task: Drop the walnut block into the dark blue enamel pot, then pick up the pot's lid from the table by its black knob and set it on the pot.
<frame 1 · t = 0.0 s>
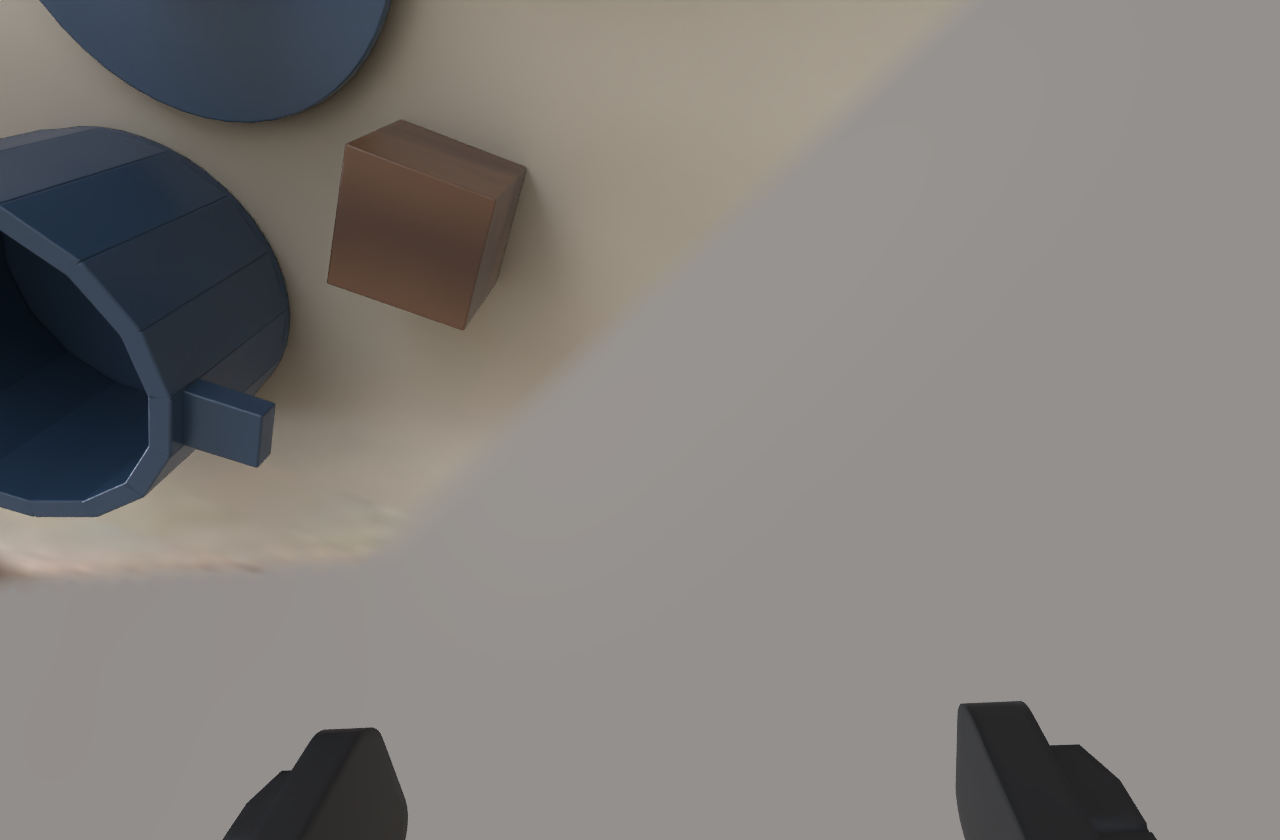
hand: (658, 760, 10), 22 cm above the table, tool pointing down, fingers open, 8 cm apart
pot: (145, 280, 31), on the table
block: (450, 205, 29), on the table
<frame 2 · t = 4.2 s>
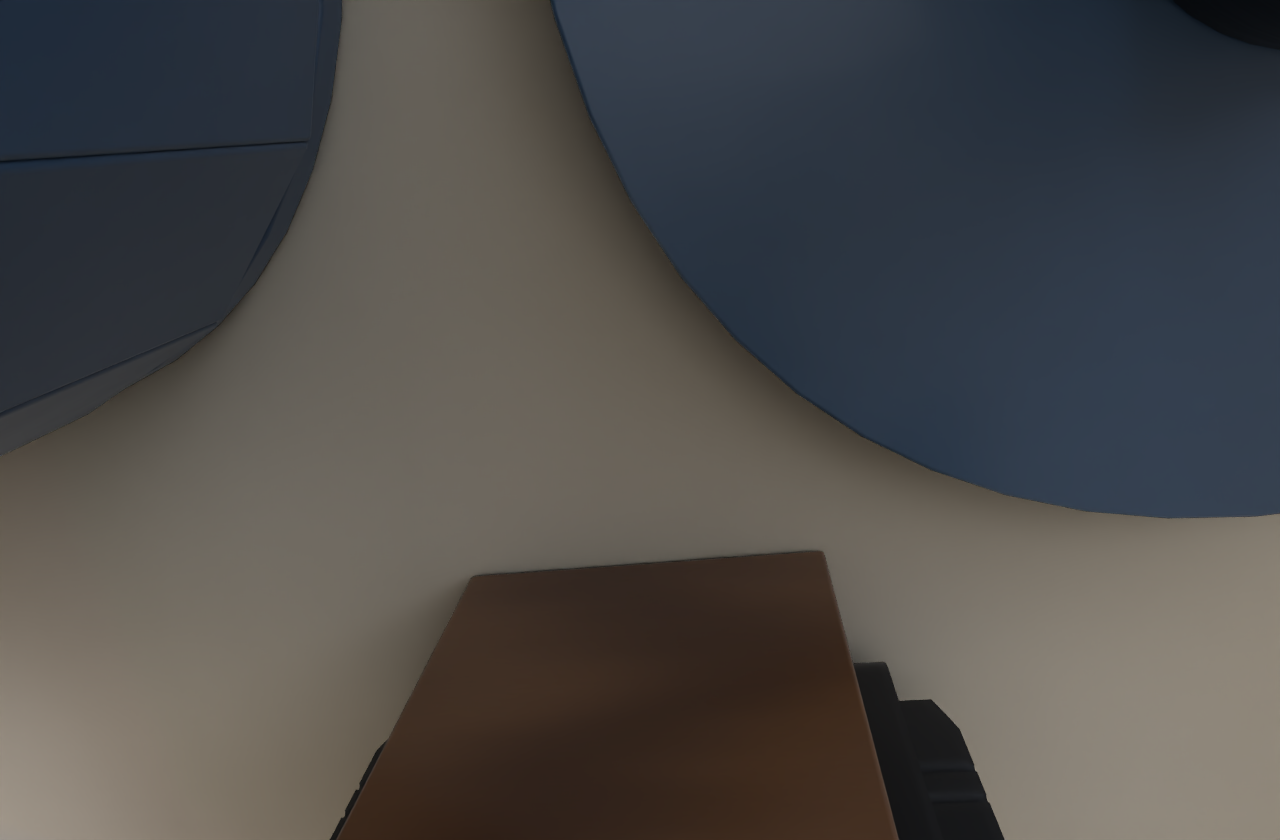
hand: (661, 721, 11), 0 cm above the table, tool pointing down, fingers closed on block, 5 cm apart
block: (664, 700, 11), on the table, touching gripper
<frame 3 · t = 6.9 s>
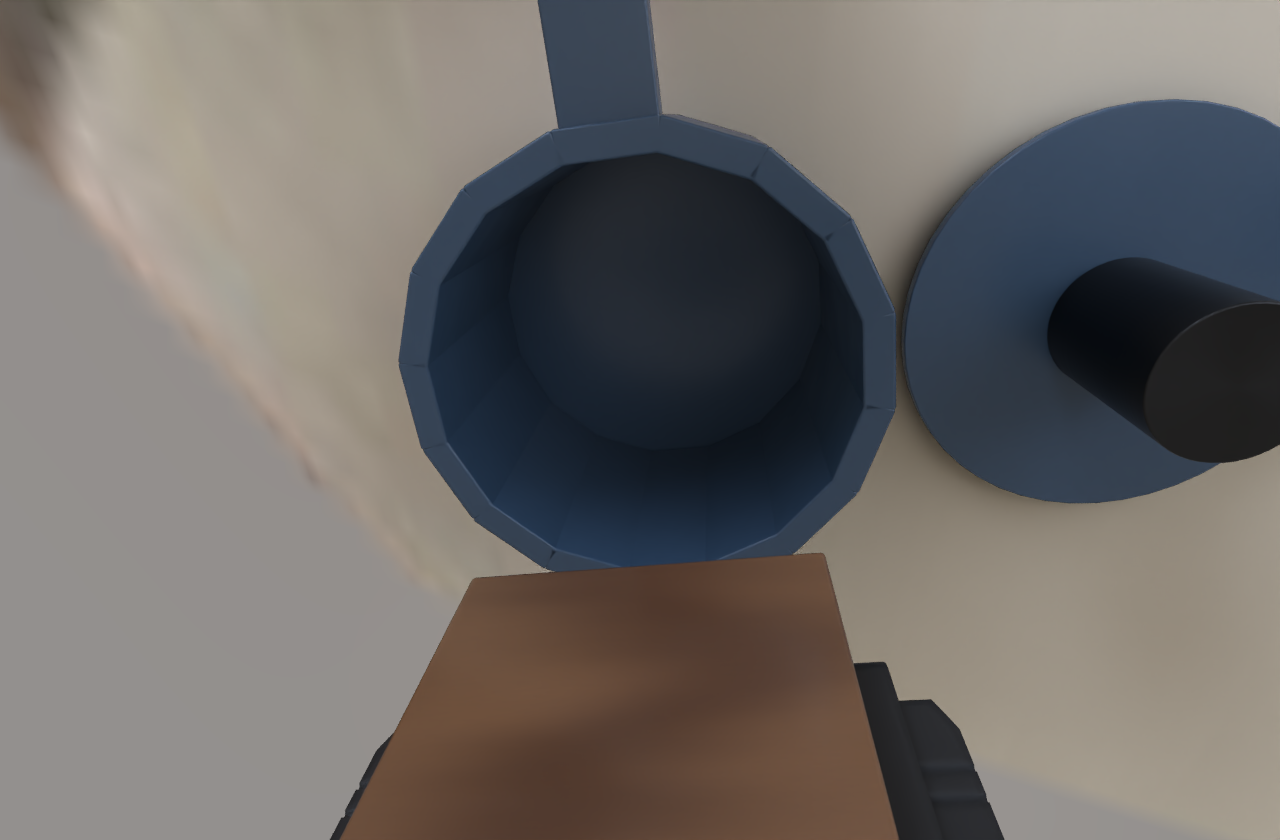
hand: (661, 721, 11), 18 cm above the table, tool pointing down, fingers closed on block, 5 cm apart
lid: (1109, 320, 24), point 1 cm above the table
pot: (663, 305, 26), on the table
block: (665, 701, 11), point 17 cm above the table, touching gripper
when the fingers open (9 cm above the table, at t = 9.6 s): block drops 8 cm, resting on pot.
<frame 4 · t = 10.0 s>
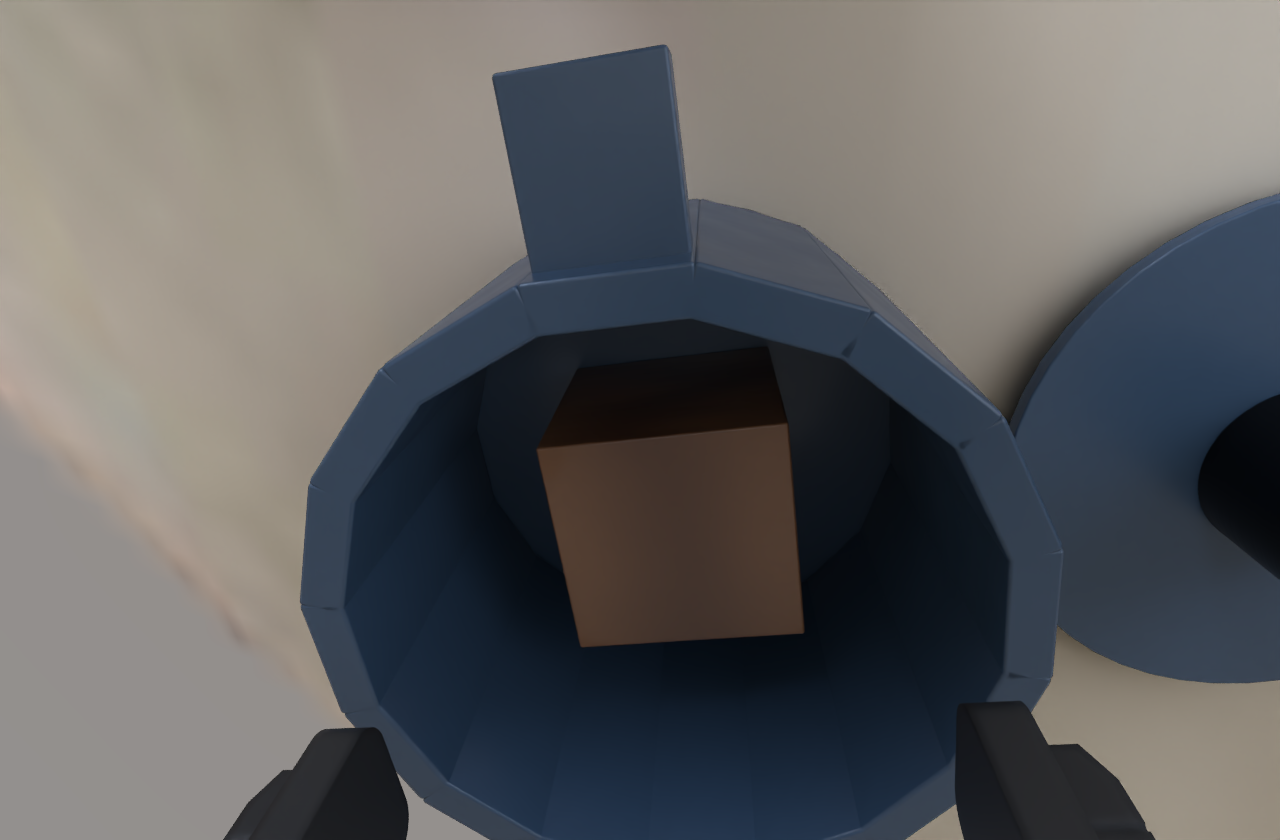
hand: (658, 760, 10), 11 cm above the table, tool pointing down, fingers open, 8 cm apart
lid: (1279, 460, 18), point 1 cm above the table
pot: (680, 436, 20), on the table
block: (682, 444, 20), resting on pot
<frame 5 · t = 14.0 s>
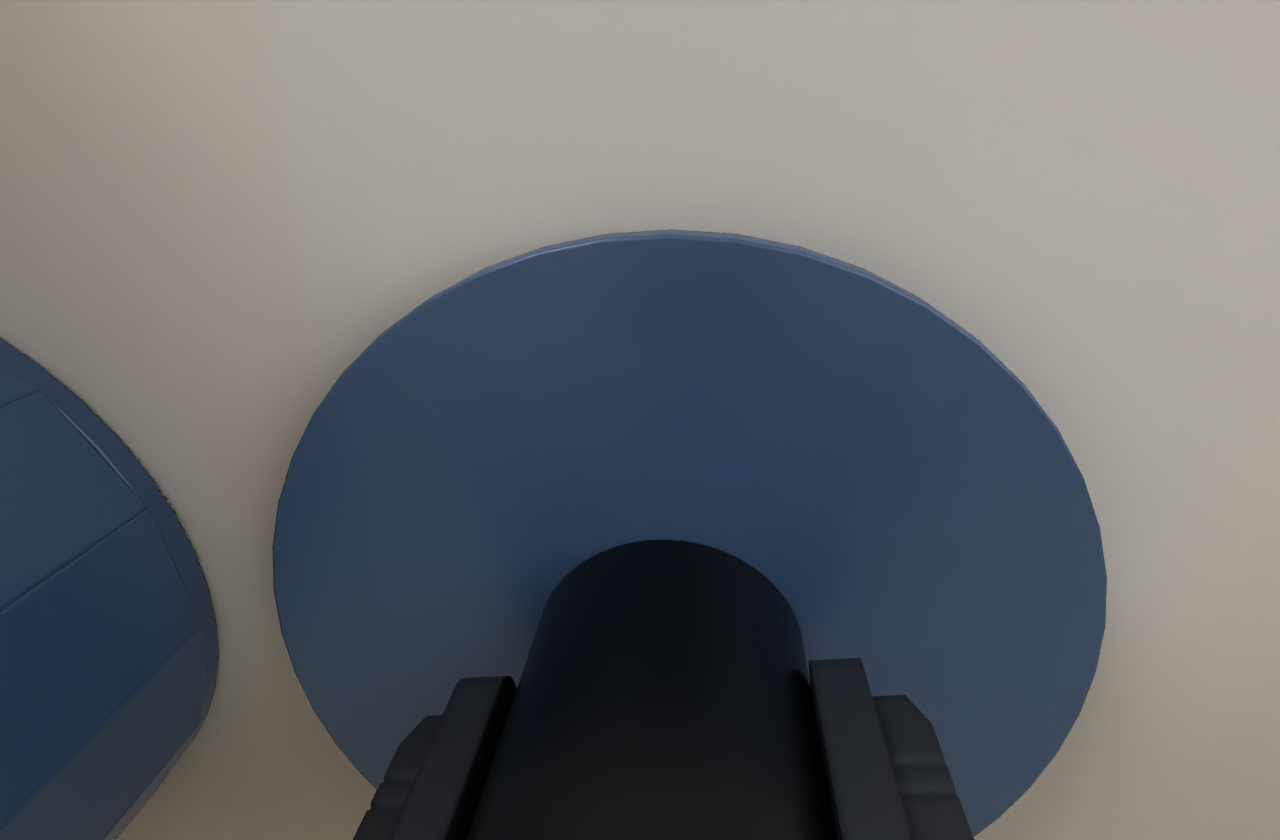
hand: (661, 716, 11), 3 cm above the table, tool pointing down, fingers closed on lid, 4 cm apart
lid: (670, 631, 12), point 1 cm above the table, touching gripper
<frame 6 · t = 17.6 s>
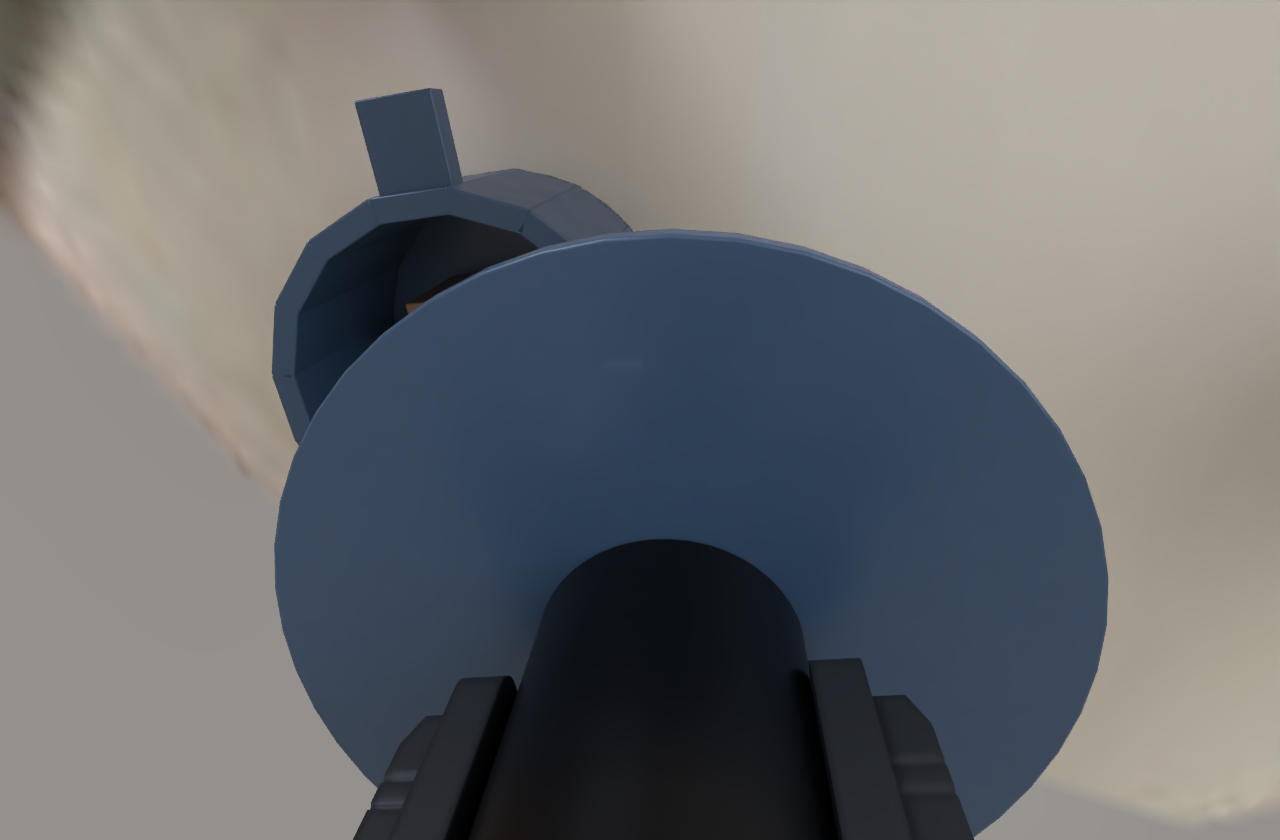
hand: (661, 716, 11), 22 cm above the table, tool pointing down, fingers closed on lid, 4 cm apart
lid: (671, 630, 12), point 20 cm above the table, touching gripper
pot: (522, 322, 32), on the table
block: (521, 325, 31), resting on pot
when the fingers open (10 cm above the table, at t = 21.3 s): lid stays where it is, resting on pot.
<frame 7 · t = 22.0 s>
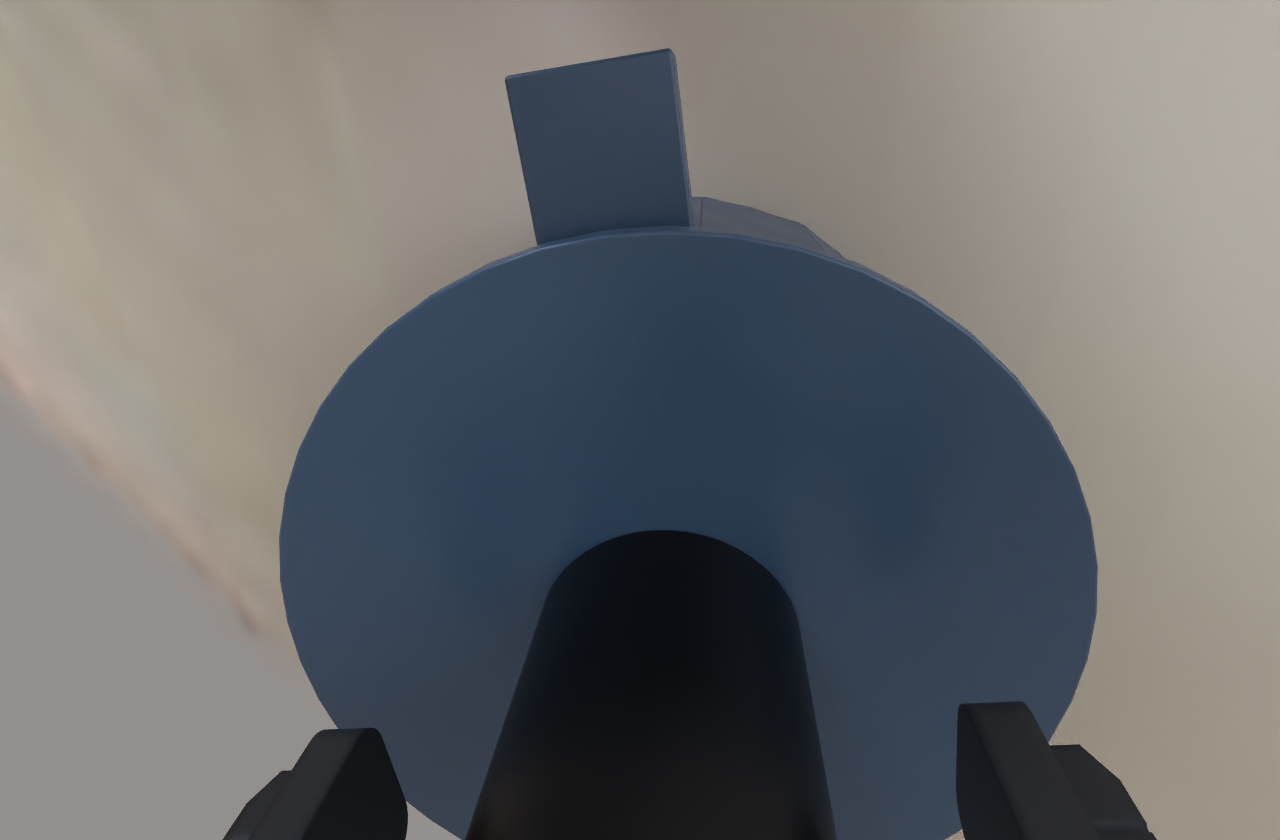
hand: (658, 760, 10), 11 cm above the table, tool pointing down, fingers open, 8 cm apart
lid: (669, 621, 13), point 8 cm above the table, touching pot
pot: (683, 429, 21), on the table
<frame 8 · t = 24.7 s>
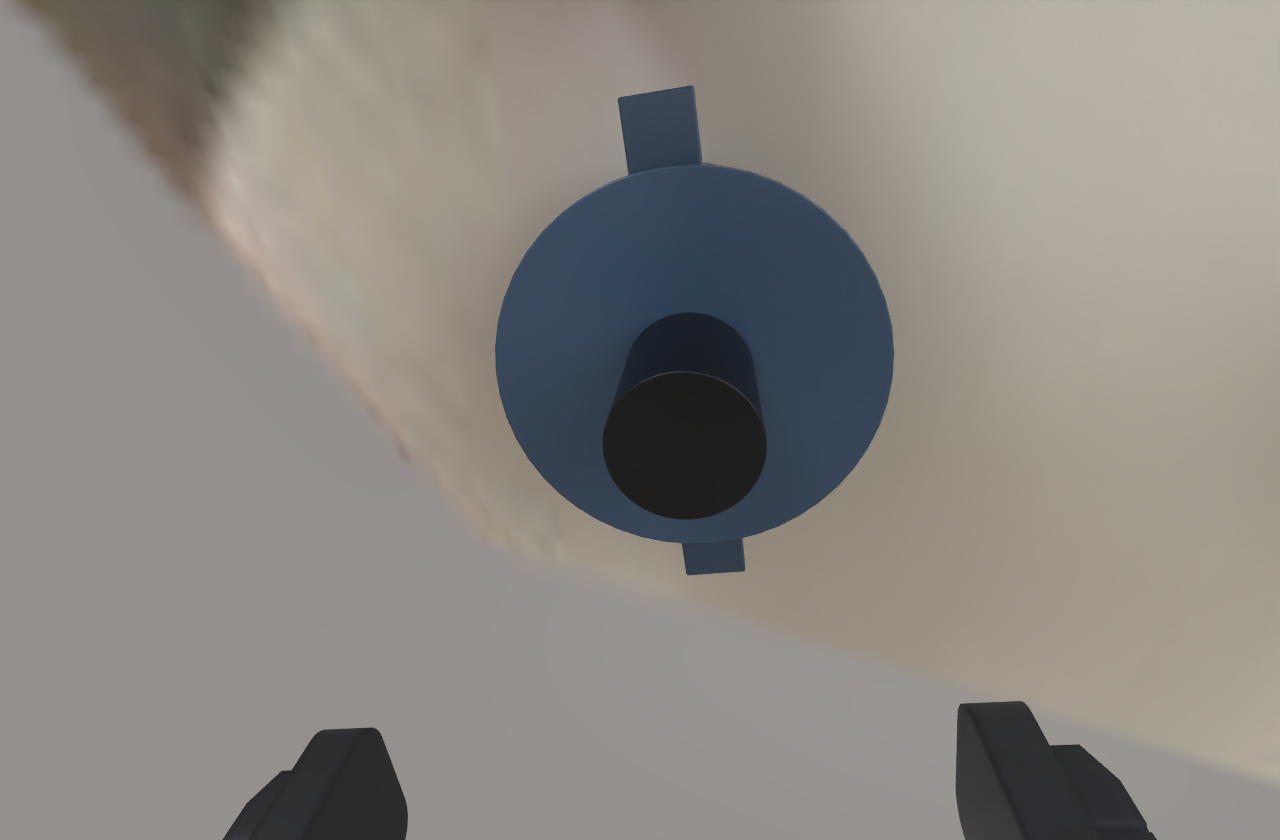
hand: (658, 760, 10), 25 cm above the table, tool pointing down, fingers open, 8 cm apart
lid: (689, 370, 25), point 8 cm above the table, touching pot
pot: (693, 310, 33), on the table
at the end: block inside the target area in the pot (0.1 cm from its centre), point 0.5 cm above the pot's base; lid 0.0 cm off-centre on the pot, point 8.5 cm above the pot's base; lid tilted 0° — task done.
